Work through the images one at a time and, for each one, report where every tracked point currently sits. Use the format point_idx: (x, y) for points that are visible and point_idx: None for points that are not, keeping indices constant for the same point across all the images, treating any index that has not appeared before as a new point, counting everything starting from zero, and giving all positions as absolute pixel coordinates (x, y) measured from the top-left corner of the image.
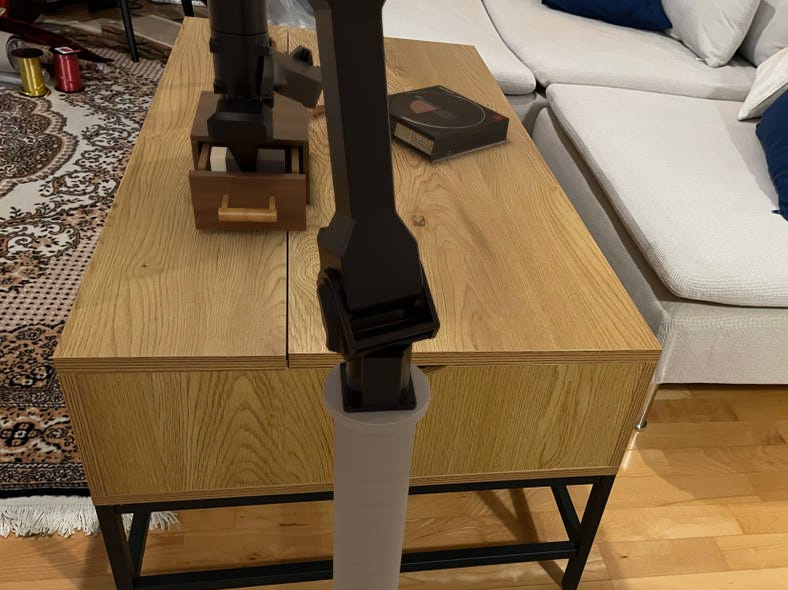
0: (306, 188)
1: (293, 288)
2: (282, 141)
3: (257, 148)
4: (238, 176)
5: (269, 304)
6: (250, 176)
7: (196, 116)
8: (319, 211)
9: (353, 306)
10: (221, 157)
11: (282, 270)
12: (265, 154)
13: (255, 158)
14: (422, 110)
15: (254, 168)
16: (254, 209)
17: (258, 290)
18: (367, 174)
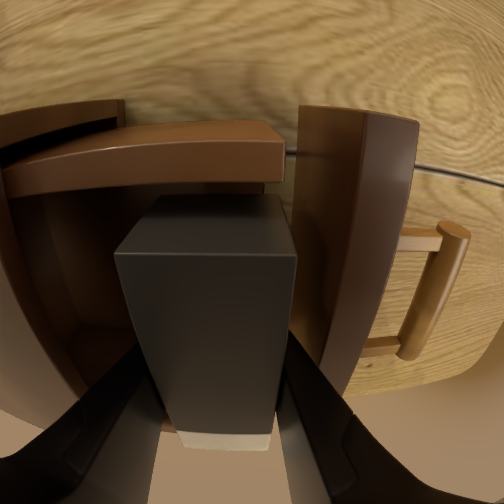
0: (103, 110)
1: (484, 170)
2: (8, 253)
3: (373, 441)
4: (348, 379)
5: (501, 212)
6: (359, 354)
7: (35, 424)
8: (162, 69)
9: None
10: (263, 439)
11: (440, 181)
12: (213, 348)
13: (335, 395)
14: None
15: (307, 356)
16: (446, 293)
17: (474, 226)
18: None
